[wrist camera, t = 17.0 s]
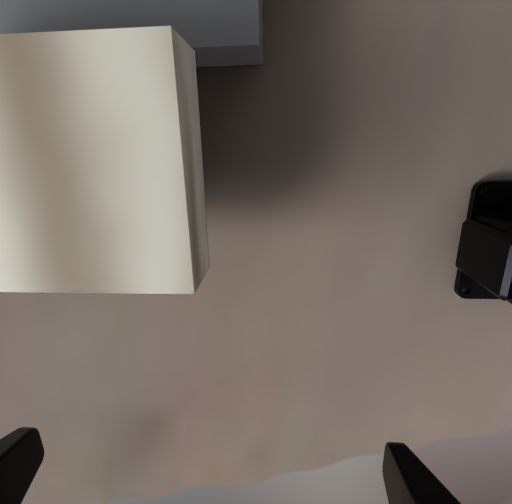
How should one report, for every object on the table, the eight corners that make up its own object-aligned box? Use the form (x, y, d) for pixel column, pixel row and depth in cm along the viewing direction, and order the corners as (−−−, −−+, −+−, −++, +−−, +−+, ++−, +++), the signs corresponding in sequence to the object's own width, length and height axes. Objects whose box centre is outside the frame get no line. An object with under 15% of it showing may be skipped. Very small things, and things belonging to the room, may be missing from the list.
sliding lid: (194, 51, 13) (170, 25, 10) (209, 266, 16) (194, 294, 13) (-21, 60, 14) (-100, 39, 11) (30, 265, 16) (-23, 291, 14)
